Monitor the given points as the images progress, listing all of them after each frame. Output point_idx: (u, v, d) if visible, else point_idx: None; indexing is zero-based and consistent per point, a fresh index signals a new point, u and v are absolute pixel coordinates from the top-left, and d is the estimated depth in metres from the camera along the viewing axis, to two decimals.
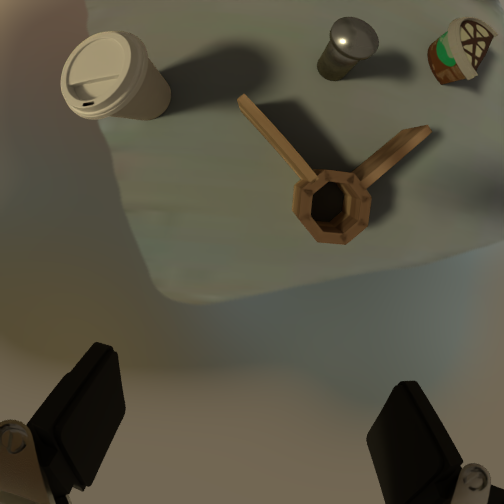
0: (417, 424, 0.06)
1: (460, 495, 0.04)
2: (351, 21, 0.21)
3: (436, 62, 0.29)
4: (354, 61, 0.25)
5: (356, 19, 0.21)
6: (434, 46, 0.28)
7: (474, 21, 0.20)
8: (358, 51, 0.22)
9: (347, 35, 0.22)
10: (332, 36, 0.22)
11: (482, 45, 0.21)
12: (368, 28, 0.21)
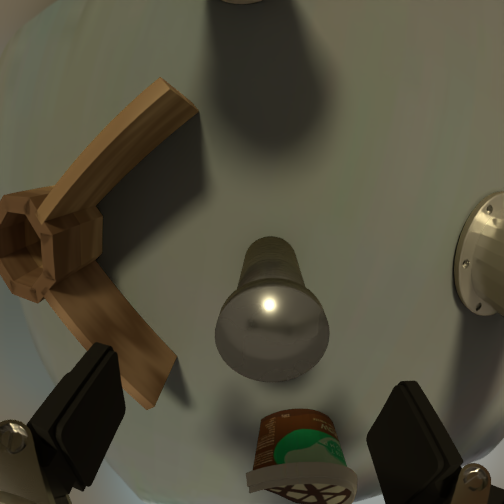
0: (417, 424, 0.06)
1: (460, 495, 0.04)
2: (316, 337, 0.12)
3: (289, 424, 0.25)
4: None
5: (322, 348, 0.12)
6: (317, 425, 0.25)
7: (349, 494, 0.19)
8: (229, 338, 0.12)
9: (272, 322, 0.12)
10: (268, 286, 0.12)
11: (307, 499, 0.19)
12: (297, 368, 0.13)
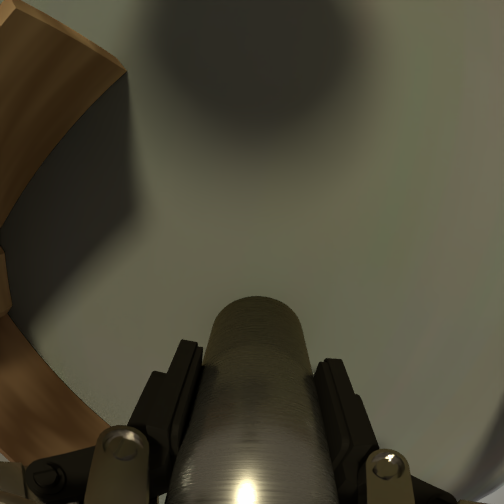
0: (331, 400, 0.07)
1: (376, 489, 0.04)
2: None
3: None
4: None
5: None
6: None
7: None
8: None
9: None
10: None
11: None
12: None
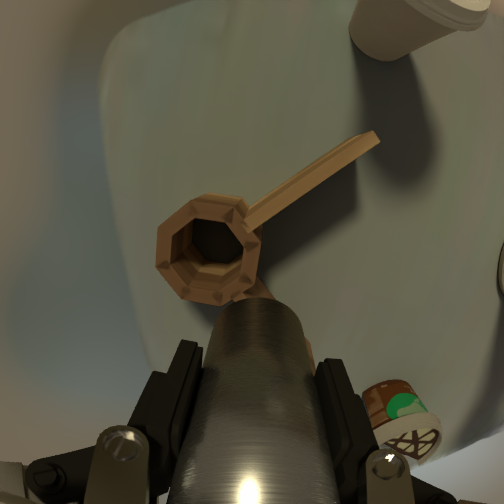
0: (331, 400, 0.07)
1: (376, 489, 0.04)
2: None
3: (390, 391, 0.31)
4: None
5: None
6: (408, 390, 0.31)
7: (435, 442, 0.25)
8: None
9: None
10: None
11: (409, 449, 0.25)
12: None
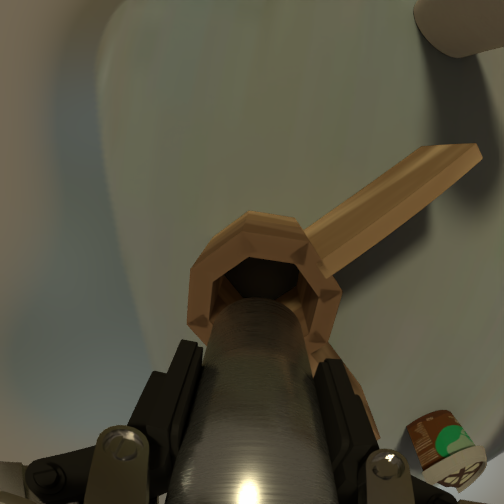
0: (331, 400, 0.07)
1: (376, 489, 0.04)
2: None
3: (436, 424, 0.24)
4: None
5: None
6: (453, 421, 0.24)
7: (477, 470, 0.19)
8: None
9: None
10: None
11: (453, 481, 0.19)
12: None
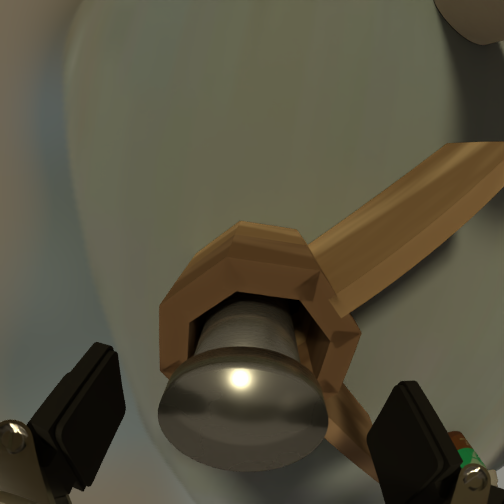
0: (417, 424, 0.06)
1: (460, 495, 0.04)
2: (309, 428, 0.07)
3: None
4: None
5: (316, 439, 0.07)
6: (464, 443, 0.20)
7: None
8: (179, 426, 0.07)
9: (241, 412, 0.07)
10: (231, 367, 0.07)
11: None
12: (281, 459, 0.08)
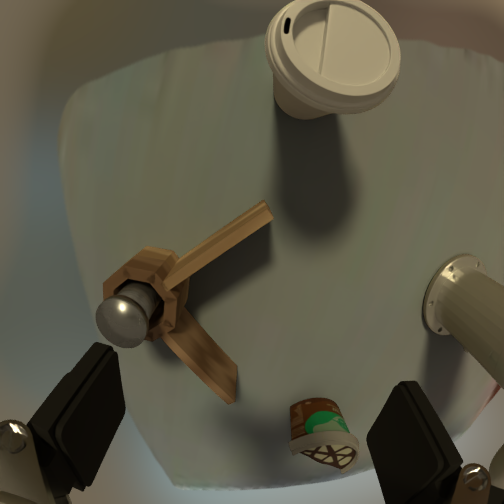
0: (417, 424, 0.06)
1: (460, 495, 0.04)
2: (139, 325, 0.24)
3: (312, 408, 0.38)
4: None
5: (143, 332, 0.24)
6: (330, 408, 0.38)
7: (354, 456, 0.32)
8: (102, 322, 0.23)
9: (118, 316, 0.23)
10: (113, 299, 0.23)
11: (327, 459, 0.32)
12: (135, 341, 0.24)
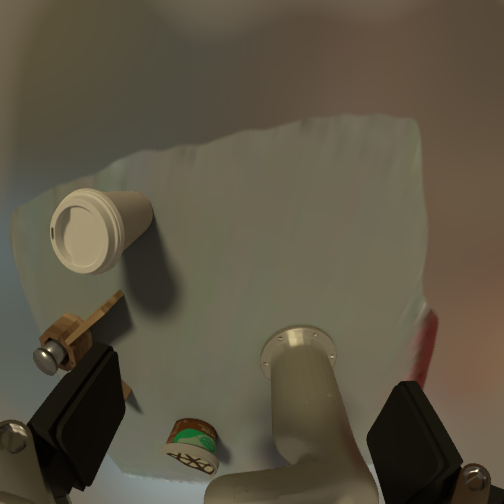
0: (417, 424, 0.06)
1: (460, 495, 0.04)
2: (51, 365, 0.36)
3: (185, 425, 0.50)
4: None
5: (53, 368, 0.37)
6: (199, 428, 0.49)
7: (213, 466, 0.44)
8: (36, 361, 0.37)
9: (42, 359, 0.36)
10: (38, 350, 0.36)
11: (191, 464, 0.44)
12: (51, 372, 0.37)
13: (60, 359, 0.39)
